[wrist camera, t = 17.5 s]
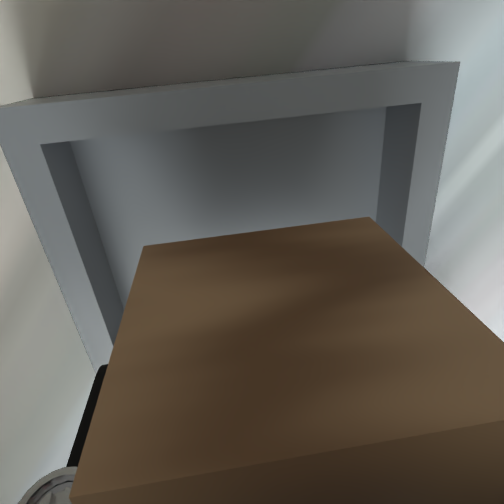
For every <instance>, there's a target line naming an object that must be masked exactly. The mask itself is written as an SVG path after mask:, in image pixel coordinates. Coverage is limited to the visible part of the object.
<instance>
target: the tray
mask: <svg viewBox="0 0 504 504" xmlns="http://www.w3.org/2000/svg"><path fill="white" fill-rule="evenodd" d="M459 66H460V62H444V61H403V62H393V63H383V64H373V65H363V66H353V67H343V68H333V69H323V70H313V71H302V72H292V73H282V74H272V75H262V76H252V77H242V78H232V79H222V80H212V81H202V82H192V83H182V84H172V85H162V86H151V87H141V88H131V89H121V90H111V91H101V92H91V93H81V94H71V95H61V96H51V97H41V98H32V99H28V100H23V101H19V102H15V103H11V104H6V105H2V106H0V145H1V148H2V150H3V152H4V155H5V157H6V160H7V162H8V164H9V167H10V169H11V172H12V174H13V176H14V179H15V181H16V184H17V186H18V188H19V191H20V193H21V196H22V198H23V200H24V203H25V205H26V208H27V210H28V212H29V215H30V217H31V220H32V222H33V224H34V227H35V229H36V232H37V234H38V236H39V239H40V241H41V244H42V246H43V248H44V251H45V253H46V256H47V258H48V260H49V263H50V265H51V268H52V270H53V272H54V275H55V277H56V280H57V282H58V284H59V287H60V289H61V292H62V294H63V296H64V299H65V301H66V304H67V306H68V308H69V311H70V313H71V316H72V318H73V320H74V323H75V325H76V328H77V330H78V332H79V335H80V337H81V340H82V342H83V344H84V347H85V349H86V352H87V354H88V356H89V359H90V361H91V364H92V366H93V368H94V371H95V373H97V371H98V369H99V367H100V366H101V365H105V364H108V363H109V360H110V357H111V353H112V350H113V346H114V343H115V340H116V336H117V333H118V330H119V326H120V323H121V320H122V316H123V313H124V309H125V306H126V303H127V299H128V296H129V293H130V289H131V286H132V283H133V279H134V276H135V272H136V269H137V266H138V262H139V259H140V256H141V252H142V249H143V246H147V245H154V244H162V243H170V242H177V241H185V240H193V239H200V238H208V237H216V236H223V235H231V234H239V233H246V232H254V231H262V230H269V229H277V228H285V227H292V226H300V225H308V224H315V223H323V222H331V221H338V220H346V219H354V218H361V217H370V218H372V219H373V220H374V221H375V222H376V223H377V224H378V225H379V226H380V227H381V228H382V229H383V230H384V231H385V232H386V233H388V234H389V235H390V236H391V237H392V238H393V239H394V240H395V241H396V242H397V243H398V244H399V245H400V246H401V247H402V248H404V249H405V250H406V251H407V252H408V253H409V254H410V255H411V256H412V257H413V258H414V259H415V260H416V261H417V262H418V263H420V264H421V265H422V266H423V267H424V264H425V258H426V252H427V247H428V241H429V235H430V230H431V224H432V218H433V213H434V207H435V201H436V196H437V190H438V184H439V179H440V173H441V168H442V162H443V156H444V151H445V145H446V139H447V134H448V128H449V122H450V117H451V111H452V105H453V100H454V94H455V88H456V83H457V77H458V72H459Z"/></svg>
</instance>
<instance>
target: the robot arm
mask: <svg viewBox="0 0 504 504" xmlns="http://www.w3.org/2000/svg"><path fill="white" fill-rule="evenodd" d="M107 367H108V364H105V365H101V366H100V367H99V369H98V371H97V373H96V377H95V380H94V383H93V386H92V389H91V392H90V395H89V398H88V401H87V404H86V407H85V410H84V414H83V417H82V420H81V423H80V426H79V429H78V432H77V435H76V438H75V441H74V444H73V447H72V451H71V454H70V457H69V460H68V463H67V466H66V467H64V468H61V469H58V470H55V471H53V472H51V473H49V474H48V475H46V476H44V477H43V478H41V479H40V480H38V481H37V482H36V483H35V484H34V485H33V486H32V487H31V488H30V489H29V490H28V491H27V492H26V493H25V495H24V496H23V497H22V499H21V500H20V501H19V503H18V504H72V503H71V501H70V499H69V494H70V491H71V488H72V484H73V481H74V478H75V474H76V471H77V468H78V464H79V461H80V457H81V454H82V451H83V447H84V444H85V441H86V437H87V434H88V431H89V427H90V424H91V420H92V417H93V414H94V410H95V407H96V404H97V400H98V397H99V394H100V390H101V387H102V383H103V380H104V377H105V373H106V370H107Z"/></svg>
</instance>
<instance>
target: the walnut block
mask: <svg viewBox="0 0 504 504" xmlns="http://www.w3.org/2000/svg"><path fill="white" fill-rule="evenodd" d="M69 499H70V501H71V503H72V504H504V342H503V341H502V340H501V339H500V338H498V337H497V336H496V335H495V334H494V333H493V332H492V331H491V330H490V329H489V328H488V327H487V326H486V325H485V324H484V323H482V322H481V321H480V320H479V319H478V318H477V317H476V316H475V315H474V314H473V313H472V312H471V311H470V310H469V309H468V308H466V307H465V306H464V305H463V304H462V303H461V302H460V301H459V300H458V299H457V298H456V297H455V296H454V295H453V294H452V293H450V292H449V291H448V290H447V289H446V288H445V287H444V286H443V285H442V284H441V283H440V282H439V281H438V280H437V279H436V278H434V277H433V276H432V275H431V274H430V273H429V272H428V271H427V270H426V269H425V268H424V267H423V266H422V265H421V264H420V263H418V262H417V261H416V260H415V259H414V258H413V257H412V256H411V255H410V254H409V253H408V252H407V251H406V250H405V249H404V248H402V247H401V246H400V245H399V244H398V243H397V242H396V241H395V240H394V239H393V238H392V237H391V236H390V235H389V234H388V233H386V232H385V231H384V230H383V229H382V228H381V227H380V226H379V225H378V224H377V223H376V222H375V221H374V220H373V219H372V218H370V217H361V218H354V219H346V220H338V221H331V222H323V223H315V224H308V225H300V226H292V227H285V228H277V229H269V230H262V231H254V232H246V233H239V234H231V235H223V236H216V237H208V238H200V239H193V240H185V241H177V242H170V243H162V244H154V245H147V246H143V249H142V252H141V256H140V259H139V262H138V266H137V269H136V272H135V276H134V279H133V283H132V286H131V289H130V293H129V296H128V299H127V303H126V306H125V309H124V313H123V316H122V320H121V323H120V326H119V330H118V333H117V336H116V340H115V343H114V346H113V350H112V353H111V357H110V360H109V363H108V367H107V370H106V373H105V377H104V380H103V383H102V387H101V390H100V394H99V397H98V400H97V404H96V407H95V410H94V414H93V417H92V420H91V424H90V427H89V431H88V434H87V437H86V441H85V444H84V447H83V451H82V454H81V457H80V461H79V464H78V468H77V471H76V474H75V478H74V481H73V484H72V488H71V491H70V494H69Z"/></svg>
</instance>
